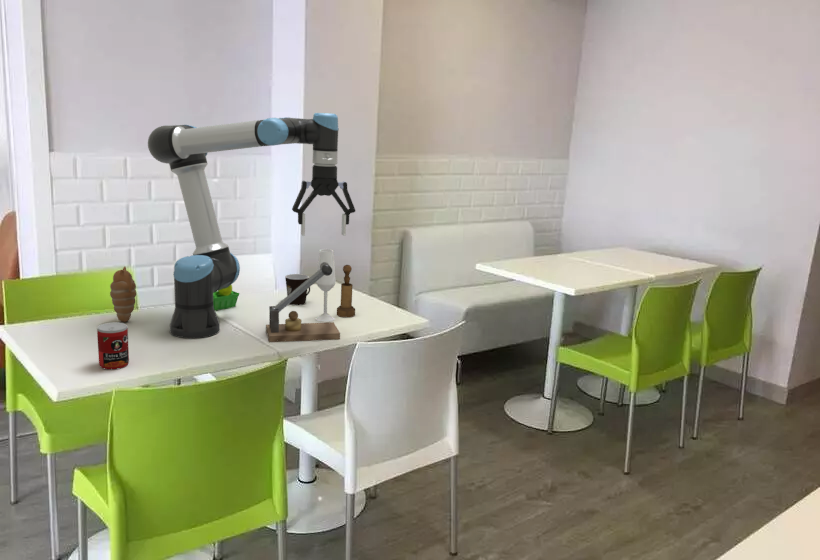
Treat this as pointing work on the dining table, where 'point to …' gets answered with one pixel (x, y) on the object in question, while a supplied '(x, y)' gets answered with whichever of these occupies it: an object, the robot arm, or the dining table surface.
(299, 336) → the nutcracker base
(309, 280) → the lever
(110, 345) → the canned food
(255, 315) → the dining table surface
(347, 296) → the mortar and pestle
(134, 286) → the brown ridged tall ovoid
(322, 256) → the champagne flute
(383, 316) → the dining table surface
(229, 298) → the fruit basket
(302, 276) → the coffee mug
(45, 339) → the dining table surface
